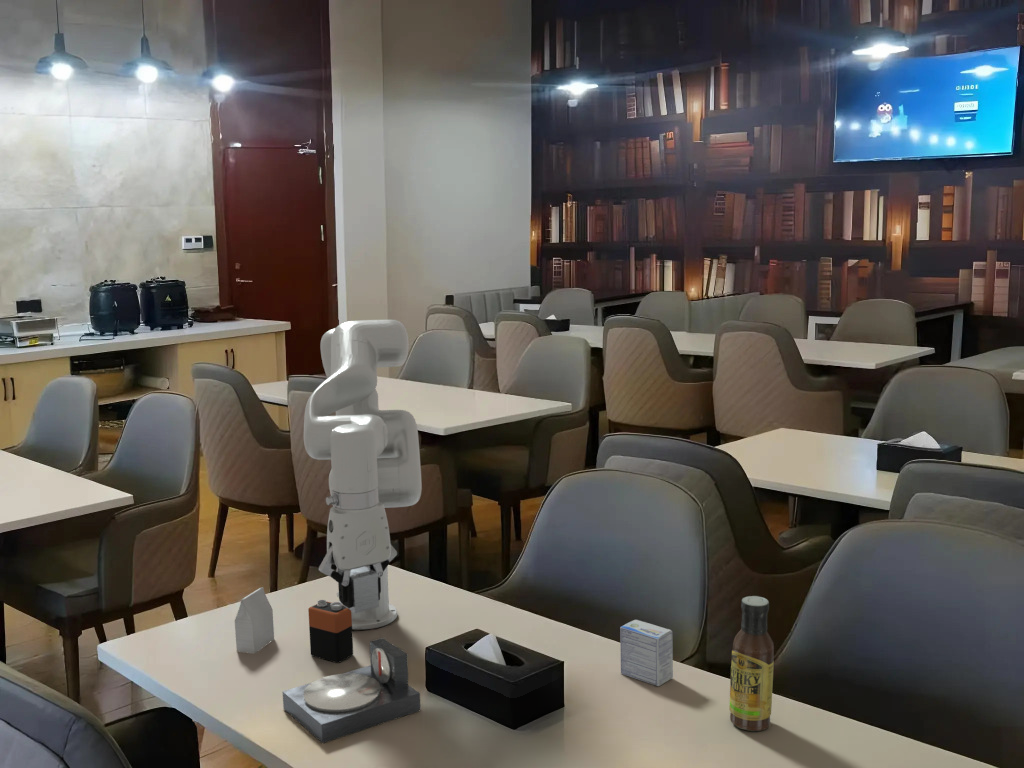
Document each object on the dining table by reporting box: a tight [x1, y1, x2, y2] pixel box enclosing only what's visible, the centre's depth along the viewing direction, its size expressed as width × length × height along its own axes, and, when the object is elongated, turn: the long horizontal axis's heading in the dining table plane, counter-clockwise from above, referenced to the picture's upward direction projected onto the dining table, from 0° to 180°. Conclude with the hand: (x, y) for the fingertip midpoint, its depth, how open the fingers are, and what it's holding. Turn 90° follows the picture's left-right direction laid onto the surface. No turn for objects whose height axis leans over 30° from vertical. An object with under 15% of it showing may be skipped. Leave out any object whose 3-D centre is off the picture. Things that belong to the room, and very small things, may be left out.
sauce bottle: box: [729, 595, 775, 732], centre depth 160 cm, size 6×6×20 cm
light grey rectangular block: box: [343, 566, 379, 613], centre depth 180 cm, size 4×4×6 cm
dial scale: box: [282, 637, 421, 744], centre depth 168 cm, size 14×17×9 cm
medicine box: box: [619, 619, 674, 687], centre depth 178 cm, size 8×4×9 cm, turn 47°
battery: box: [308, 599, 354, 663], centre depth 189 cm, size 4×7×10 cm, turn 58°
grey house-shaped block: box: [234, 587, 275, 654], centre depth 194 cm, size 4×7×10 cm, turn 161°
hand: (360, 600), depth 181 cm, fingers closed on light grey rectangular block, 4 cm apart
